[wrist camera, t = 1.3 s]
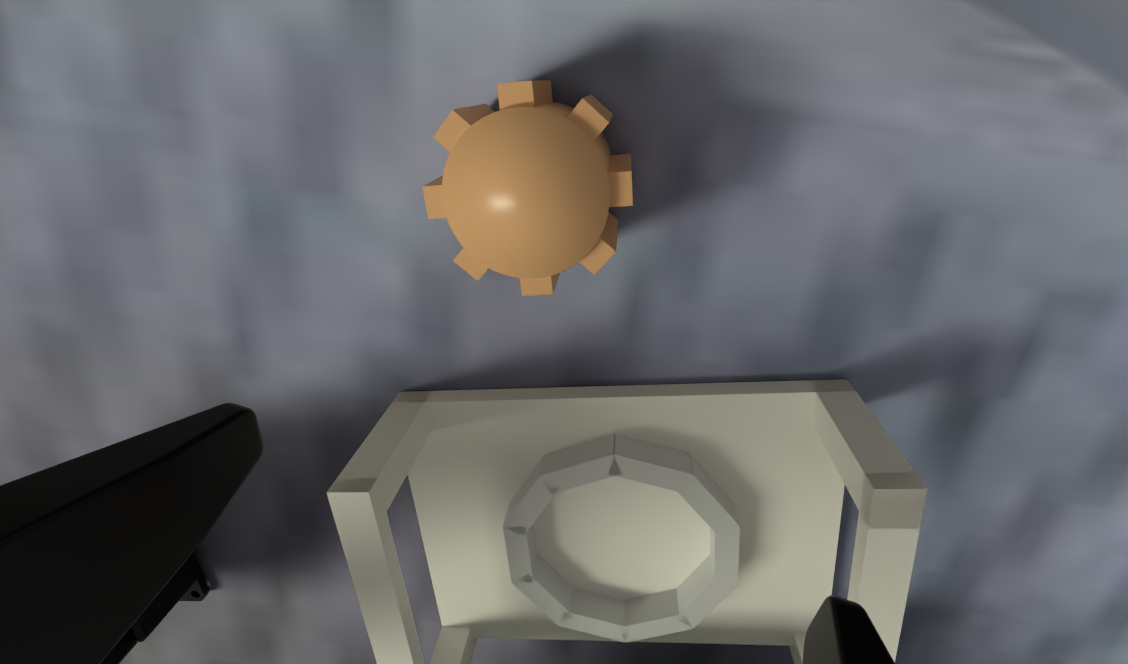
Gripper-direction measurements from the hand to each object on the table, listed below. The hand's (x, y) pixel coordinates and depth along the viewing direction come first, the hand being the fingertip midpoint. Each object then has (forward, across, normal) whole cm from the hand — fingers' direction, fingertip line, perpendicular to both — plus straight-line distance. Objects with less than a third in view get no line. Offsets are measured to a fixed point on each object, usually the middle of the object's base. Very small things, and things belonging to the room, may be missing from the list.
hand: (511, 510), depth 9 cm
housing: (+12, -3, +22) cm, 25 cm away
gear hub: (+15, +5, 0) cm, 16 cm away
